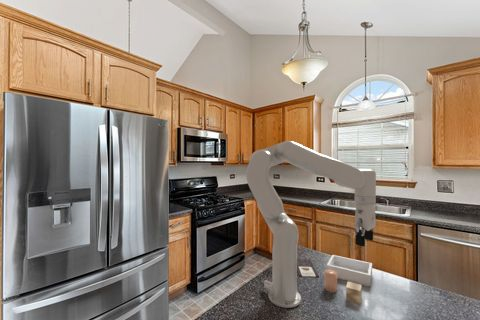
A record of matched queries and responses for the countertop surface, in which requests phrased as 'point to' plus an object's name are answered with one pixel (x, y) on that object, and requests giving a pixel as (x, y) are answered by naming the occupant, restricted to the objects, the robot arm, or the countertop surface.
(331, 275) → the terracotta cylinder
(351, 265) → the tote
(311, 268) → the chocolate bar
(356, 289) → the wood cube
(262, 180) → the robot arm
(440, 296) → the countertop surface
